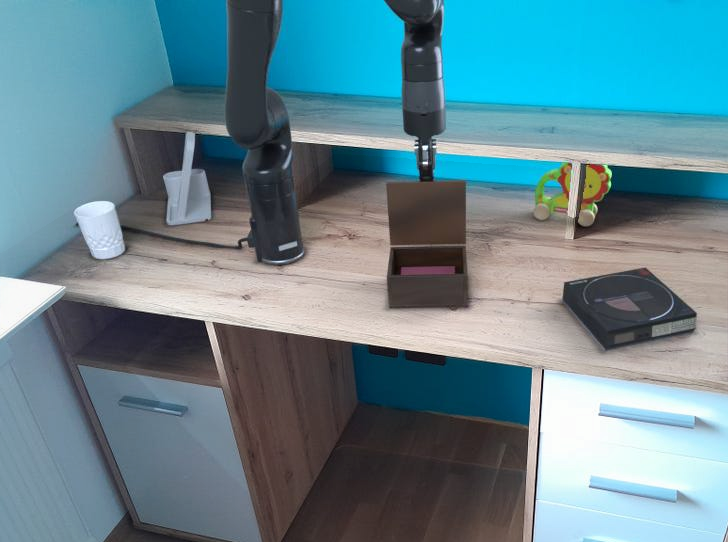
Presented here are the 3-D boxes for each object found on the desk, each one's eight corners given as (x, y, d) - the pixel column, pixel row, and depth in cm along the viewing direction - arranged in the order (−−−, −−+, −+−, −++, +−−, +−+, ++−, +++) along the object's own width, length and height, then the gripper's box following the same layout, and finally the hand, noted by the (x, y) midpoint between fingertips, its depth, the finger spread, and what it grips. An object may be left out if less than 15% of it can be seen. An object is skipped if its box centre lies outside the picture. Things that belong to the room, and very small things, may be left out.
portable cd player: (606, 353, 114) (609, 333, 111) (562, 301, 127) (564, 282, 125) (694, 334, 117) (699, 315, 115) (642, 286, 130) (645, 267, 128)
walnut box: (467, 307, 126) (467, 275, 122) (389, 308, 127) (386, 276, 123) (465, 276, 135) (465, 245, 131) (392, 277, 136) (390, 246, 132)
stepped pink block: (401, 297, 128) (400, 280, 126) (402, 283, 132) (401, 267, 130) (455, 296, 128) (455, 279, 126) (455, 282, 132) (454, 266, 130)
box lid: (465, 181, 124) (465, 179, 125) (386, 183, 124) (386, 181, 125) (466, 244, 131) (465, 242, 131) (390, 245, 131) (390, 243, 132)
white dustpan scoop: (169, 196, 171) (149, 123, 160) (211, 191, 173) (194, 119, 162) (166, 226, 158) (145, 148, 147) (212, 219, 160) (194, 142, 149)
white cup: (112, 240, 152) (97, 198, 147) (136, 248, 149) (122, 205, 143) (81, 255, 147) (65, 212, 141) (106, 264, 144) (90, 219, 138)
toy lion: (531, 220, 155) (535, 153, 145) (537, 210, 159) (542, 144, 150) (603, 229, 150) (612, 161, 141) (607, 219, 154) (616, 152, 145)
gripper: (403, 93, 125) (409, 184, 135) (400, 116, 115) (406, 213, 125) (444, 92, 125) (447, 183, 135) (445, 114, 114) (448, 212, 125)
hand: (427, 197), depth 130 cm, fingers closed
